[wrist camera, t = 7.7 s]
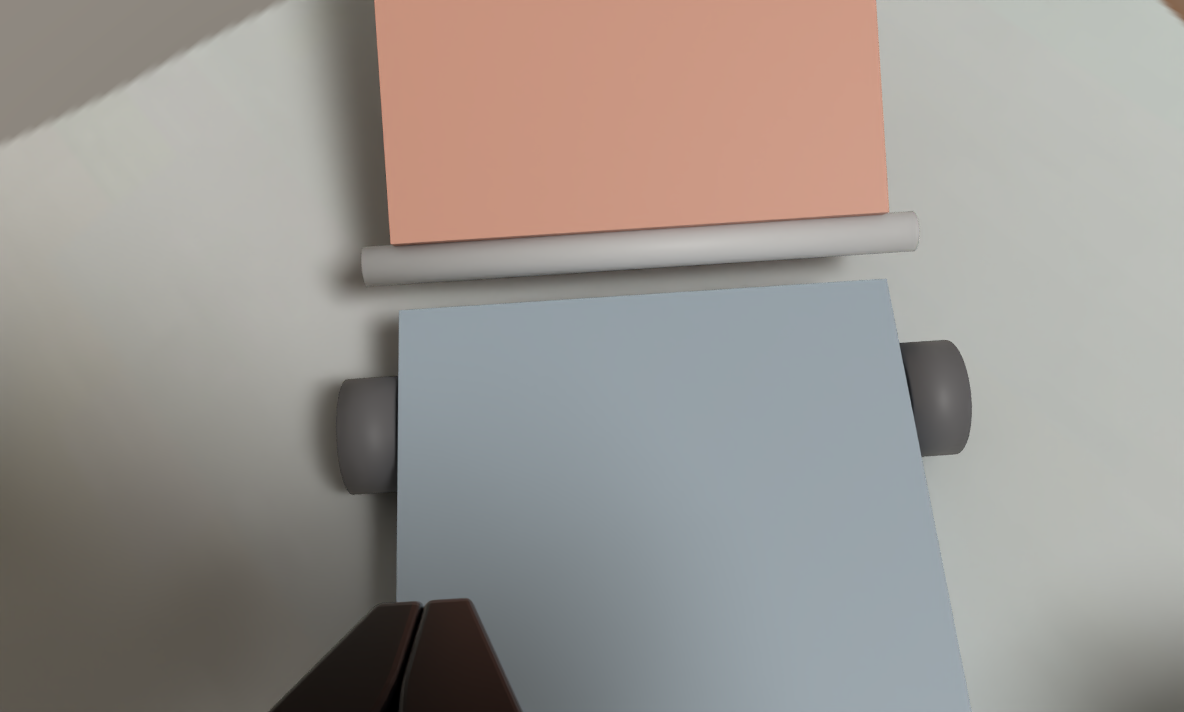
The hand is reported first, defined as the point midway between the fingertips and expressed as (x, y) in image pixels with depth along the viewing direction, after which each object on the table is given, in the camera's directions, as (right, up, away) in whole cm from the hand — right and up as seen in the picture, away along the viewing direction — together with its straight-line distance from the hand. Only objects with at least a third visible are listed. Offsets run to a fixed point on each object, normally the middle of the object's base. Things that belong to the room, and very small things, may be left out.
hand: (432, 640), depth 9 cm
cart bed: (+3, -3, +13) cm, 14 cm away
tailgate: (+3, +5, +14) cm, 15 cm away
